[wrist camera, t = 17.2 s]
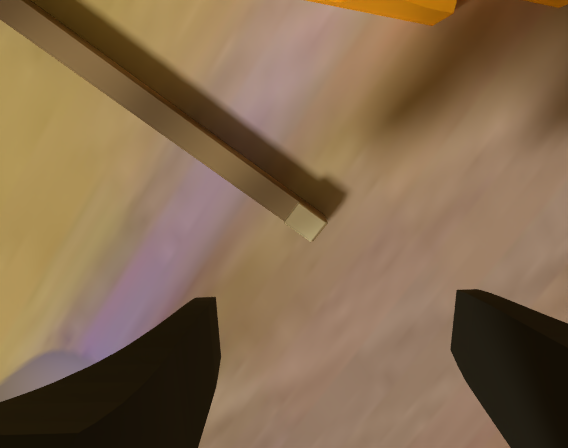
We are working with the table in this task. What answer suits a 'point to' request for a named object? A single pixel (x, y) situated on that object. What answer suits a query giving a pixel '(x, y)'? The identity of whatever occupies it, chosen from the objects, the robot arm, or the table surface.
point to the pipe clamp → (413, 8)
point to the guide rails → (160, 115)
